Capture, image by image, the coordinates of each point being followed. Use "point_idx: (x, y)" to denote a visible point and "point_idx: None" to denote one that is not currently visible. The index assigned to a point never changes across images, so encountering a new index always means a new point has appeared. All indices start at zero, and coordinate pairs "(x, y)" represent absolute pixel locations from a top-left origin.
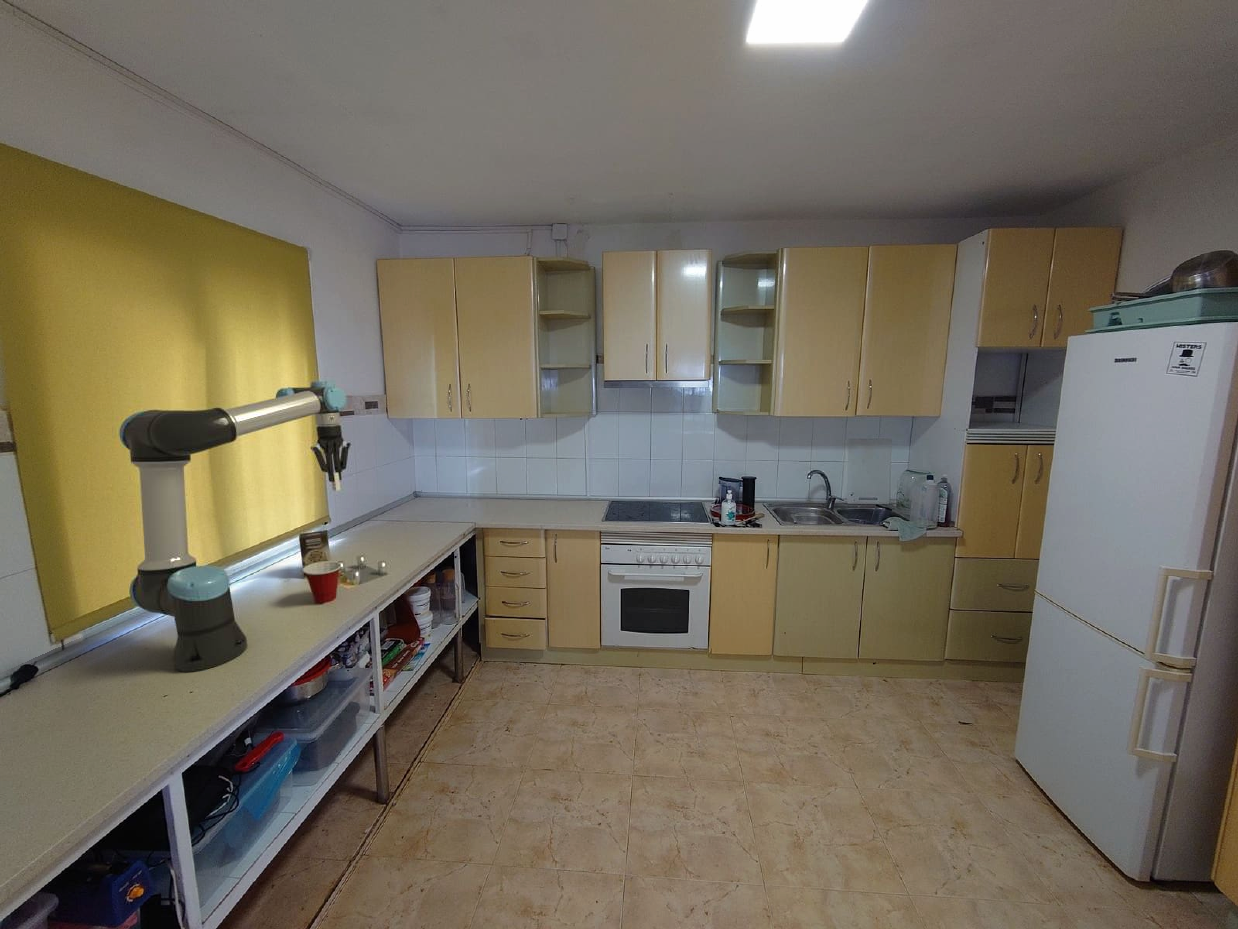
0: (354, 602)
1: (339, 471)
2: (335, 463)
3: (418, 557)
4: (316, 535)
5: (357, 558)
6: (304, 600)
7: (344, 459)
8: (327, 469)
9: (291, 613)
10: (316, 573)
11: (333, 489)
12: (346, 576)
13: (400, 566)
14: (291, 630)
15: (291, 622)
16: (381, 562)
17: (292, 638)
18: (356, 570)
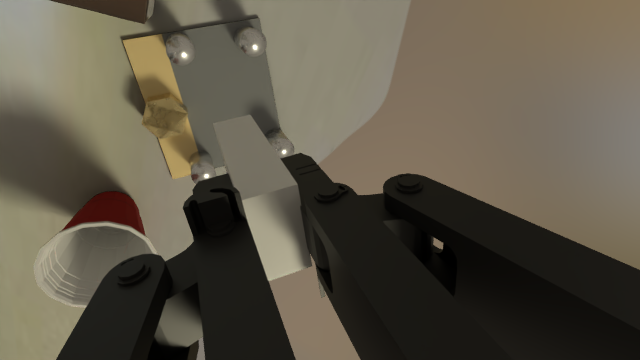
0: (172, 256)
1: (323, 289)
2: (354, 320)
3: (389, 71)
4: (89, 9)
5: (240, 46)
6: (55, 175)
7: (506, 350)
8: (188, 358)
9: (21, 237)
10: (78, 306)
11: (218, 142)
12: (182, 132)
13: (329, 105)
14: (27, 319)
15: (25, 284)
16: (282, 151)
17: (31, 350)
18: (208, 169)
